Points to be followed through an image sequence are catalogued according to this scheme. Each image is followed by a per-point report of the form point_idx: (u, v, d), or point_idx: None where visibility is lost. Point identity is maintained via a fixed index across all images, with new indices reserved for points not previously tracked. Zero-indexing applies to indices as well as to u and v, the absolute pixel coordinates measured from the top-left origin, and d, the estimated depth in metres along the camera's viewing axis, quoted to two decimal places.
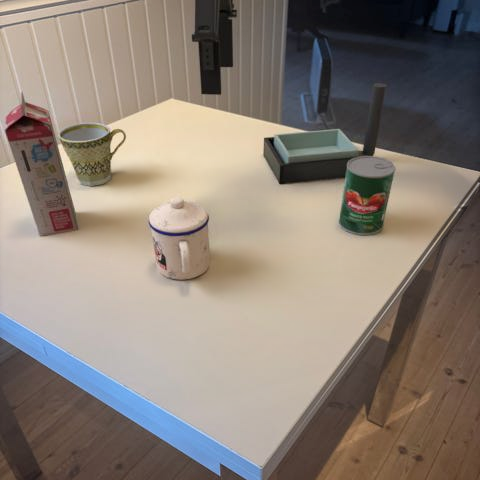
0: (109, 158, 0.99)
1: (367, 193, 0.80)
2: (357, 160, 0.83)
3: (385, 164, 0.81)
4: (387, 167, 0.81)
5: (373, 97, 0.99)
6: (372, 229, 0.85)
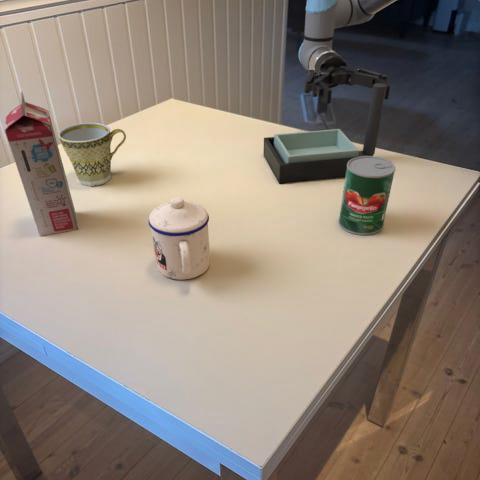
0: (109, 158, 0.99)
1: (367, 193, 0.80)
2: (357, 160, 0.83)
3: (385, 164, 0.81)
4: (387, 167, 0.81)
5: (373, 97, 0.99)
6: (372, 229, 0.85)
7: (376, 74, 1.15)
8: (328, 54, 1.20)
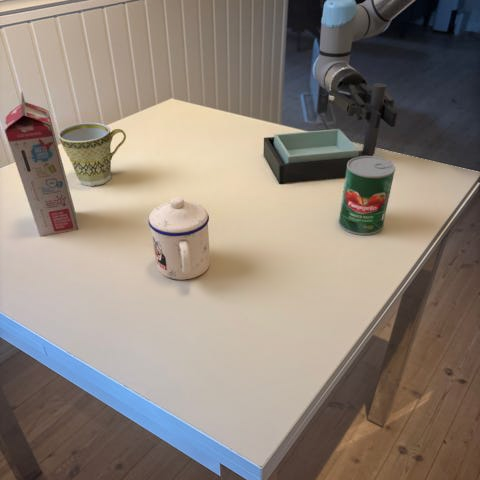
0: (109, 158, 0.99)
1: (367, 193, 0.80)
2: (357, 160, 0.83)
3: (385, 164, 0.81)
4: (387, 167, 0.81)
5: (373, 97, 0.99)
6: (372, 229, 0.85)
7: (385, 96, 1.04)
8: (346, 71, 1.11)
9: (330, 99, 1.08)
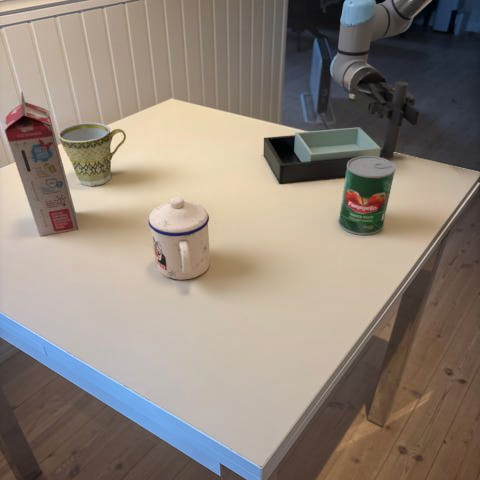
0: (109, 158, 0.99)
1: (367, 193, 0.80)
2: (357, 160, 0.83)
3: (385, 164, 0.81)
4: (387, 167, 0.81)
5: (395, 95, 0.99)
6: (372, 229, 0.85)
7: (406, 95, 1.05)
8: (366, 69, 1.11)
9: (350, 97, 1.09)
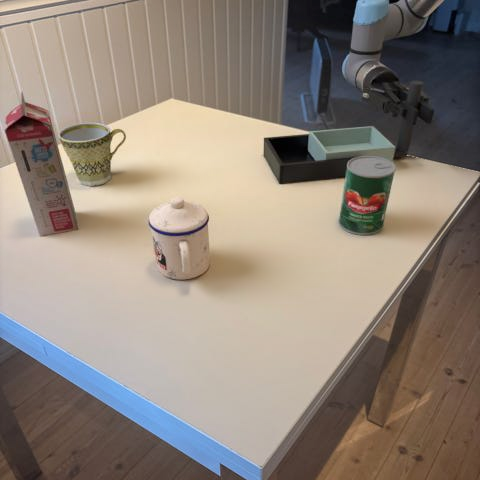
0: (109, 158, 0.99)
1: (367, 193, 0.80)
2: (357, 160, 0.83)
3: (385, 164, 0.81)
4: (387, 167, 0.81)
5: (409, 94, 1.00)
6: (372, 229, 0.85)
7: None
8: (379, 69, 1.12)
9: (364, 96, 1.09)
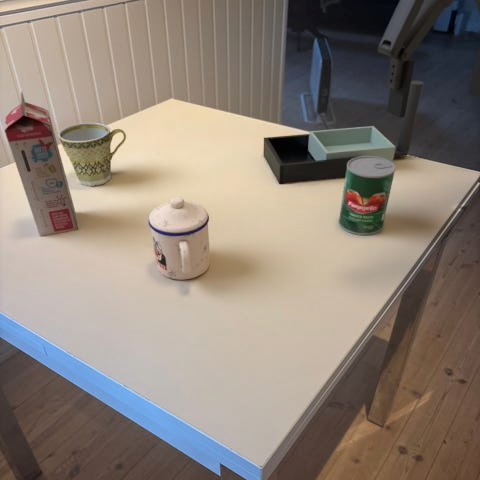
0: (109, 158, 0.99)
1: (367, 193, 0.80)
2: (357, 160, 0.83)
3: (385, 164, 0.81)
4: (387, 167, 0.81)
5: (410, 94, 1.00)
6: (372, 229, 0.85)
7: None
8: None
9: None
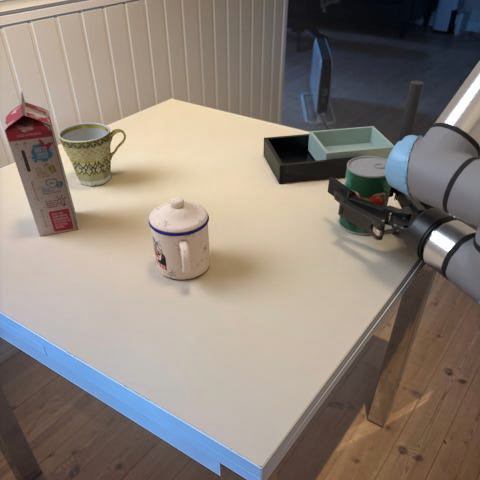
0: (109, 158, 0.99)
1: (367, 193, 0.80)
2: (357, 160, 0.83)
3: (385, 164, 0.81)
4: None
5: (410, 94, 1.00)
6: None
7: (356, 205, 0.78)
8: (443, 212, 0.71)
9: None
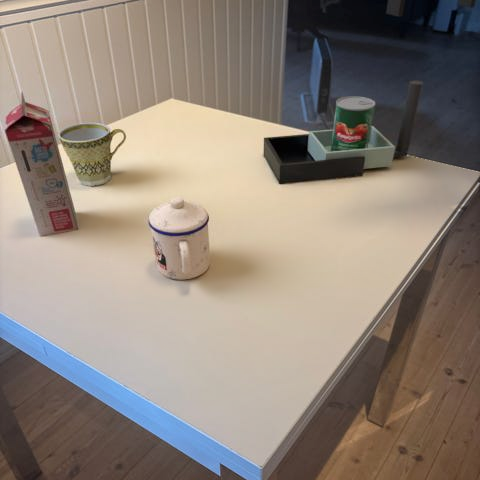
0: (109, 158, 0.99)
1: (352, 124, 0.99)
2: (345, 99, 1.02)
3: (367, 101, 1.00)
4: (368, 103, 0.99)
5: (409, 94, 1.00)
6: None
7: None
8: None
9: None
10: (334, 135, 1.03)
